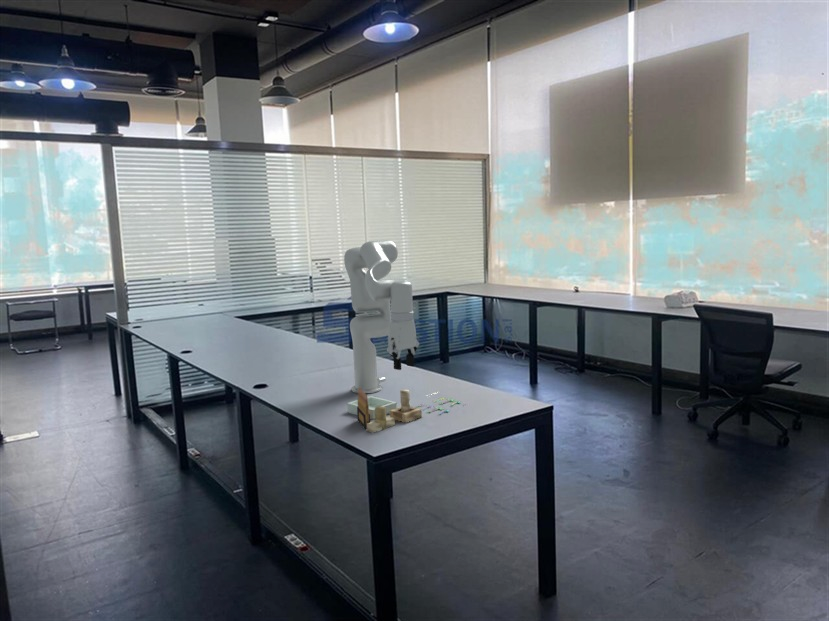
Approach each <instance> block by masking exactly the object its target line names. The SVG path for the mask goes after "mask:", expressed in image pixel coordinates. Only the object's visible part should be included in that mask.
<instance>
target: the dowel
mask: <svg viewBox="0 0 829 621" xmlns="http://www.w3.org/2000/svg"><path fill="white" fill-rule="evenodd" d="M399 392H400V404H401V412H405V413H406V412H409V411H410V407H411V404H410V401H411V400H410V399H411V398H410V390H409V389H401V390H399Z"/></svg>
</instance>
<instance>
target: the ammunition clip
mask: <svg viewBox="0 0 829 621" xmlns="http://www.w3.org/2000/svg"><path fill="white" fill-rule="evenodd" d="M367 397H368V394H367V393H364V392H363V391H362V390H361V389H360V388H359V390H358V393H357V400H358V407H357V415H356V416H357V422H358V421H359V422H358V423H359V424H360V425H361V426H362V428H363V427H364V428H363V429H364V430H367V424H368V423H371V419H370V414H369V406H368V398H367Z"/></svg>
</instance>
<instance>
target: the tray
mask: <svg viewBox="0 0 829 621" xmlns="http://www.w3.org/2000/svg"><path fill="white" fill-rule="evenodd" d="M367 398H368V406H369V414H370V420H375V408H376V407H380V406H382V407H386V416H389V415H390V410H393V409H396V408H397V405H398V404H397V403H398V402H396V401H394V400H393V401H392V400H389V399H385V398H382V397H376V396H372V395H370V396H367ZM346 405H347V407H346V409H347V413H348V412H349V414H352V415H355V414H356V416H357V407H358V399H356V400H353V401H349V402H347V404H346Z"/></svg>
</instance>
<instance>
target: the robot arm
mask: <svg viewBox="0 0 829 621" xmlns="http://www.w3.org/2000/svg"><path fill="white" fill-rule="evenodd" d="M398 252H399V251H398V248H397V246H396V244H395V242H393V241H391V240H371V241H366V242H364V243H363V244H362V245H361V246H360V247H352V248H348V249H347V250H346V251H345V252H344V256H343V261H344V267H345V270H346V273H347V275H348V278H349V284H350V285H349V288H350V297H351V307H352V309H353V311H354V312H356V313H371V312H377V313H378V314H365V315H359V316H355V317H352V318H351V320H350V322H349V329H350V334H351V339H352V351H353V372H354V385H353V386H351V391H352V393H356V394H358V390H359V388H360V389H361V390H362V391H363V392H364V393H365V394H372V393H373V394H374V393H378V392H379V391H381V390H382V385H380V384H381V383H384V382H386V377H385V376H383V377H382V376H381V377H380V378H379V377H378V369H377V367H378V364H377V363H378V362H377V349H376V348H377V347H376V346H375V344H374V343H373V342H372V341H371V339H373V338H382V337H387V336H388V342H387V343H388V346H387V348H386V352H387V353H388V354H389V355H390V357H391V358H392V359H393V370H398V371H401V370H402V358H401V353H402V351H404V350H406V353H407V354H406V355H405V357H406V366H407V367H412V368H413V367H415V355H416V352H417V349H418V347H419V345H420V342H419V340H418V339H417V330H416V329H417V328H416V324H415V320H414V314H415V313H414V307H413V306H414V304H413V284H412V283H411V282H410V281H408V280H407V281H406V280H405V279H400V278H399V279H398V278H397V279H383V278H385V277H386V276H388V274H390V273H391V270H392V264H393V263H394V262H396V261H397V258H398V254H399V253H398ZM365 269H367V271H366V270H365ZM381 279H382V280H381Z"/></svg>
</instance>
